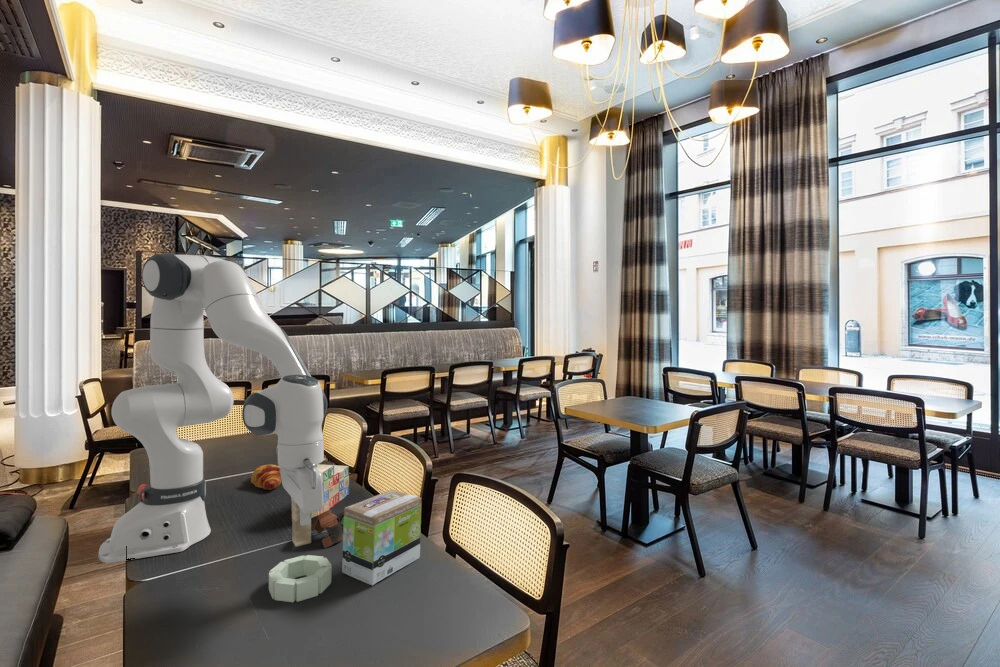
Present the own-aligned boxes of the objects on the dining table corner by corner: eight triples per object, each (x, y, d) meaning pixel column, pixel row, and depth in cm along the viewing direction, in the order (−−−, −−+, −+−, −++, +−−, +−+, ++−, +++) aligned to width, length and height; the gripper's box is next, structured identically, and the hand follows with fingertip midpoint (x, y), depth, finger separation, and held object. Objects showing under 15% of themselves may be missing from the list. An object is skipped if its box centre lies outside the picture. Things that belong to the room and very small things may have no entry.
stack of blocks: (331, 493, 154) (331, 455, 154) (349, 495, 153) (349, 456, 153) (290, 520, 133) (290, 476, 133) (311, 522, 132) (311, 478, 132)
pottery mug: (313, 555, 115) (301, 522, 117) (308, 557, 123) (296, 526, 124) (361, 530, 122) (348, 499, 124) (353, 533, 130) (341, 504, 131)
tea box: (373, 587, 101) (374, 517, 100) (341, 573, 106) (341, 507, 106) (421, 558, 114) (422, 495, 113) (390, 547, 119) (391, 487, 118)
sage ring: (276, 608, 93) (276, 590, 93) (265, 581, 103) (265, 565, 102) (336, 589, 100) (336, 572, 100) (321, 566, 109) (321, 550, 109)
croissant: (253, 486, 170) (241, 467, 168) (281, 468, 175) (269, 450, 173) (264, 504, 152) (250, 483, 150) (294, 484, 157) (281, 464, 155)
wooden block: (295, 546, 99) (295, 497, 98) (292, 541, 101) (292, 493, 101) (311, 542, 100) (310, 494, 100) (307, 537, 103) (307, 490, 103)
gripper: (331, 463, 94) (331, 534, 94) (304, 442, 110) (305, 502, 111) (297, 469, 90) (297, 542, 90) (274, 446, 107) (275, 508, 107)
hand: (301, 520), depth 101 cm, fingers closed on wooden block, 3 cm apart
